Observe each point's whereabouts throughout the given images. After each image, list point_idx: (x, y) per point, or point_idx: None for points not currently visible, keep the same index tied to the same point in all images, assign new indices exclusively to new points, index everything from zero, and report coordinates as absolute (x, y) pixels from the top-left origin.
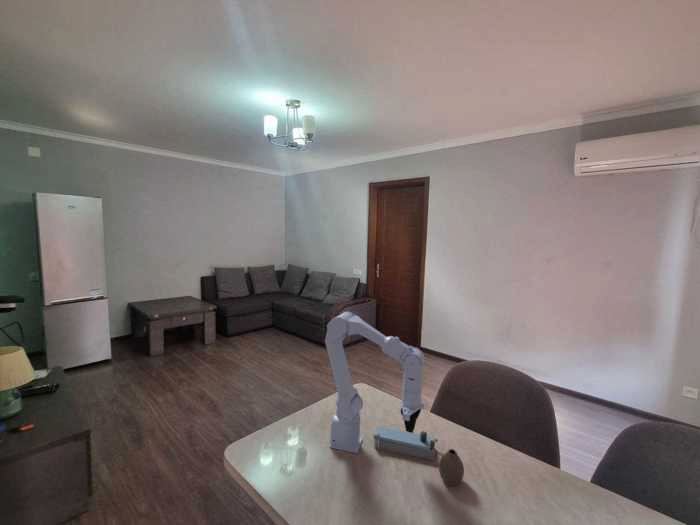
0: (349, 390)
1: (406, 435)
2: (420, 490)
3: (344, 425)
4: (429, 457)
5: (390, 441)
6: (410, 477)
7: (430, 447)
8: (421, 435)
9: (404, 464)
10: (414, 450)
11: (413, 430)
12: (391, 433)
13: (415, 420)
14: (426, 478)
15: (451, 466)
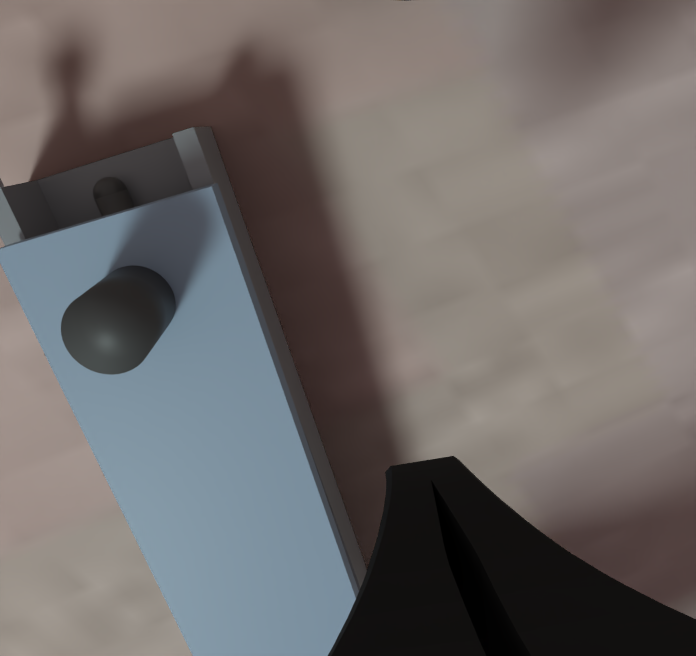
0: None
1: (182, 481)
2: (657, 114)
3: None
4: (223, 177)
5: (344, 554)
6: (552, 241)
7: (62, 220)
8: (153, 343)
9: (429, 341)
10: (273, 331)
11: (435, 468)
12: (257, 601)
13: (682, 616)
14: (493, 114)
15: None
